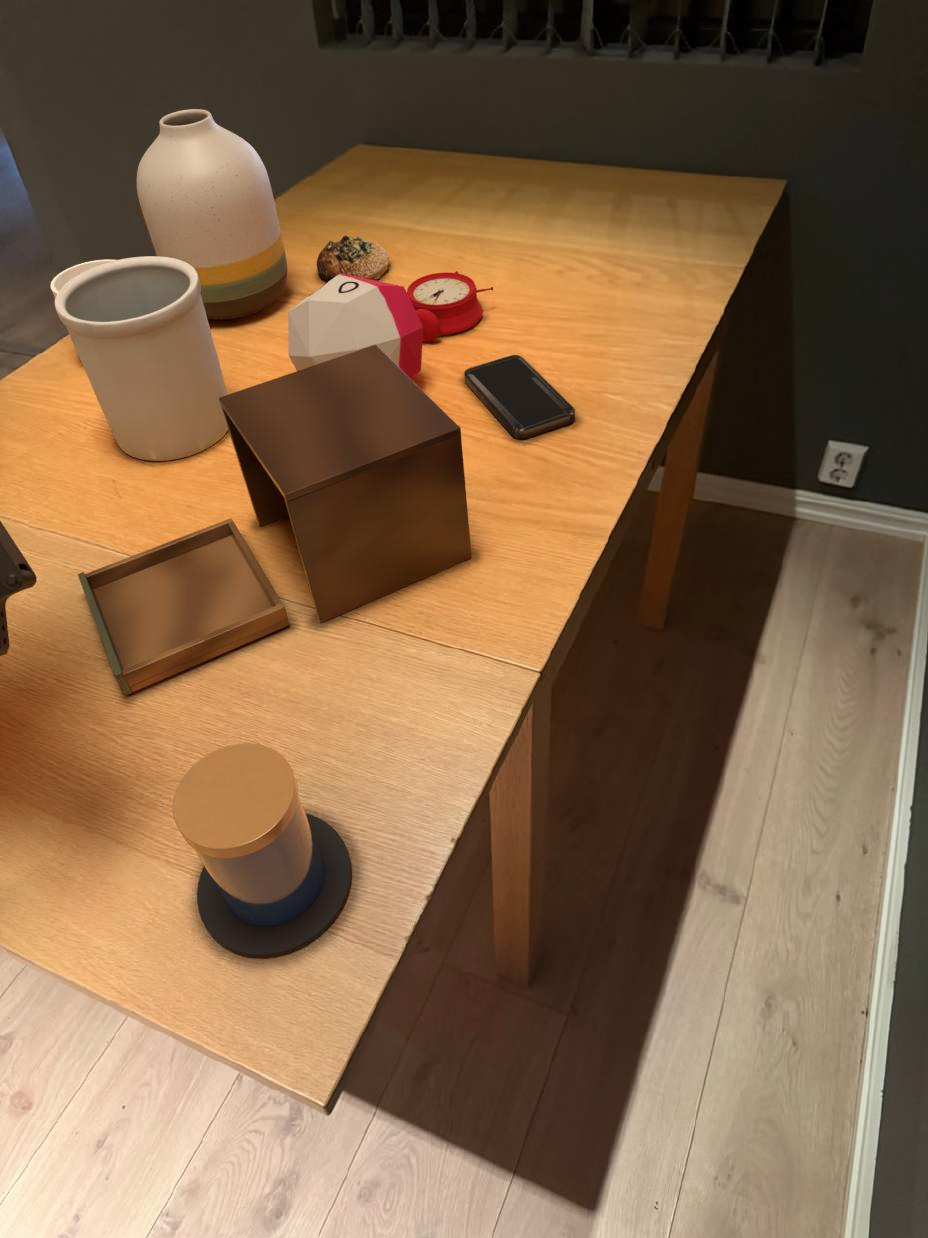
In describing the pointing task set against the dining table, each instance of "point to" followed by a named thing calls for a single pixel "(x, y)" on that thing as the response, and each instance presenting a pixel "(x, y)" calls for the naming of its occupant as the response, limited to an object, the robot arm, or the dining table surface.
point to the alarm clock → (445, 303)
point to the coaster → (291, 933)
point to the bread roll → (352, 259)
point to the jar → (251, 832)
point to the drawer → (181, 604)
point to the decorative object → (355, 323)
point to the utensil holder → (148, 354)
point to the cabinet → (354, 475)
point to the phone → (519, 396)
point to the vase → (213, 213)
